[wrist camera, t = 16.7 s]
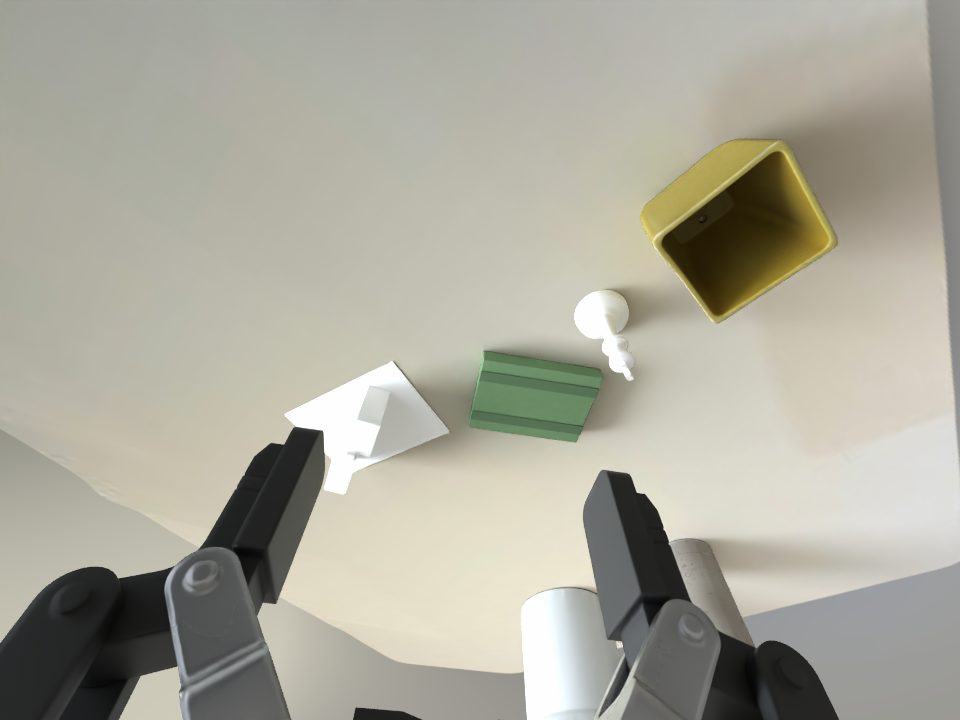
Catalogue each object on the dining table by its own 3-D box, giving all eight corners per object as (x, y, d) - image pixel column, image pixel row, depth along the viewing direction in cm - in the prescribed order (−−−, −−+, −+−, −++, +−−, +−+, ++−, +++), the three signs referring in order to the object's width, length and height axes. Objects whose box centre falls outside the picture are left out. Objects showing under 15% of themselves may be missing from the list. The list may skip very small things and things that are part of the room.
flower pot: (769, 205, 36) (843, 245, 28) (673, 276, 39) (716, 327, 32) (716, 117, 32) (785, 135, 25) (615, 202, 36) (649, 241, 28)
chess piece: (612, 279, 40) (645, 338, 31) (637, 318, 42) (673, 383, 34) (564, 308, 41) (584, 371, 33) (590, 344, 44) (614, 412, 35)
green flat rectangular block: (469, 417, 49) (468, 428, 48) (483, 350, 44) (483, 360, 43) (573, 432, 50) (576, 443, 49) (599, 368, 45) (603, 378, 44)
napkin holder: (349, 475, 55) (335, 514, 50) (282, 415, 49) (260, 453, 45) (451, 431, 50) (447, 470, 46) (391, 359, 45) (379, 395, 40)
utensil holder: (628, 596, 70) (665, 737, 55) (581, 637, 78) (603, 770, 63) (544, 576, 67) (560, 719, 52) (504, 620, 75) (508, 756, 60)
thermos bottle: (682, 576, 66) (786, 854, 43) (641, 560, 64) (726, 844, 41) (723, 549, 62) (861, 840, 39) (681, 532, 60) (799, 828, 37)
